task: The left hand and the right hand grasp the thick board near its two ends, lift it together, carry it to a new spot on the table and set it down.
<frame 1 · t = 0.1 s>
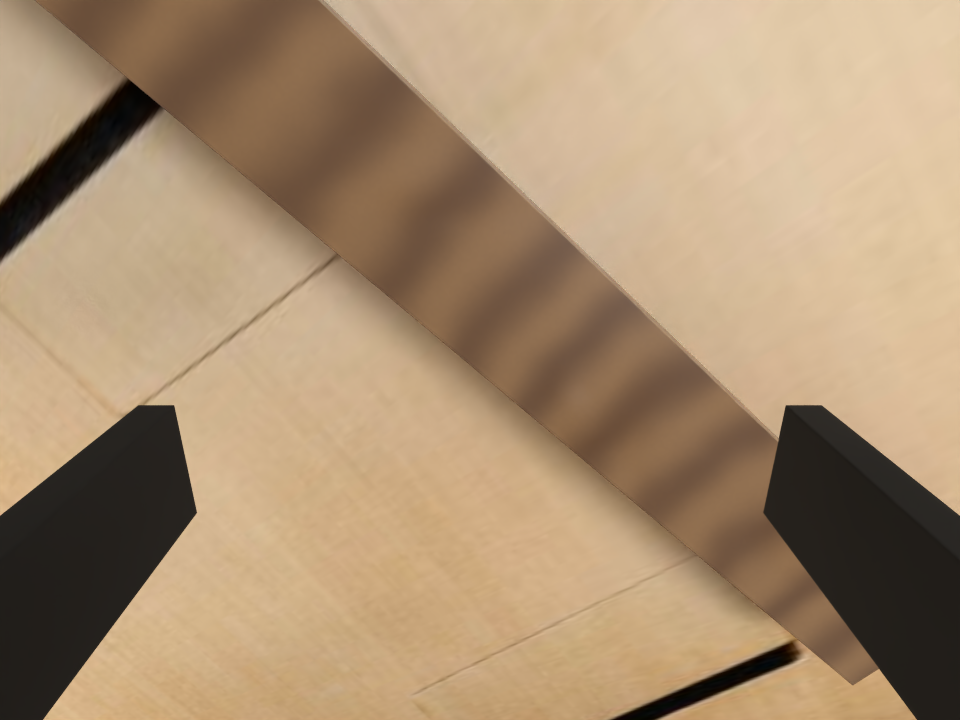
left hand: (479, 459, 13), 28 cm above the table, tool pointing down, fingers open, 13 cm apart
thick board: (499, 264, 39), on the table
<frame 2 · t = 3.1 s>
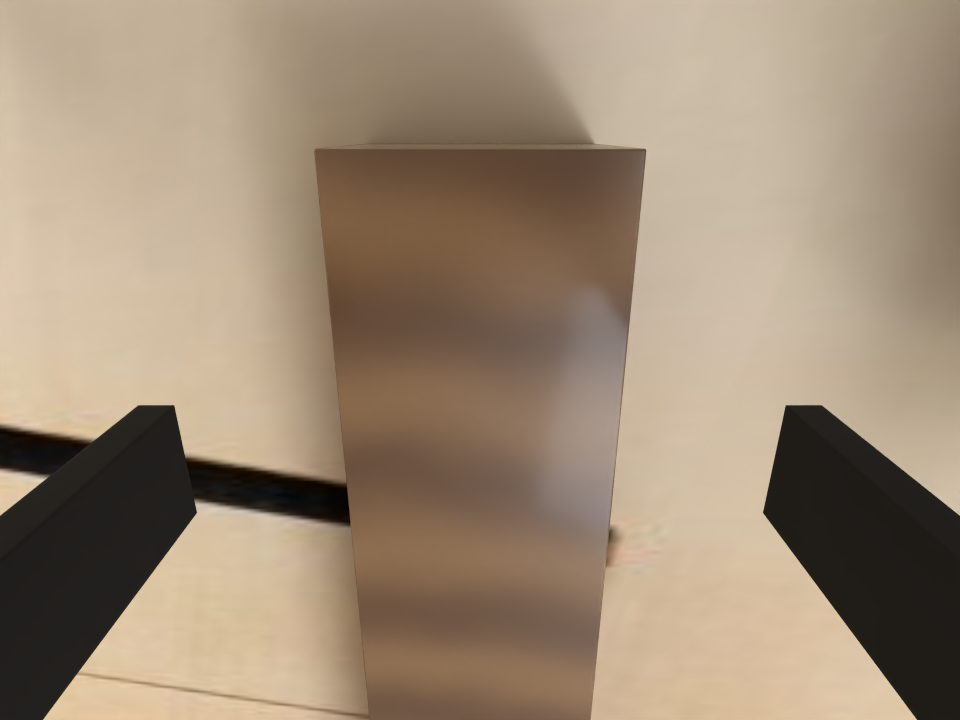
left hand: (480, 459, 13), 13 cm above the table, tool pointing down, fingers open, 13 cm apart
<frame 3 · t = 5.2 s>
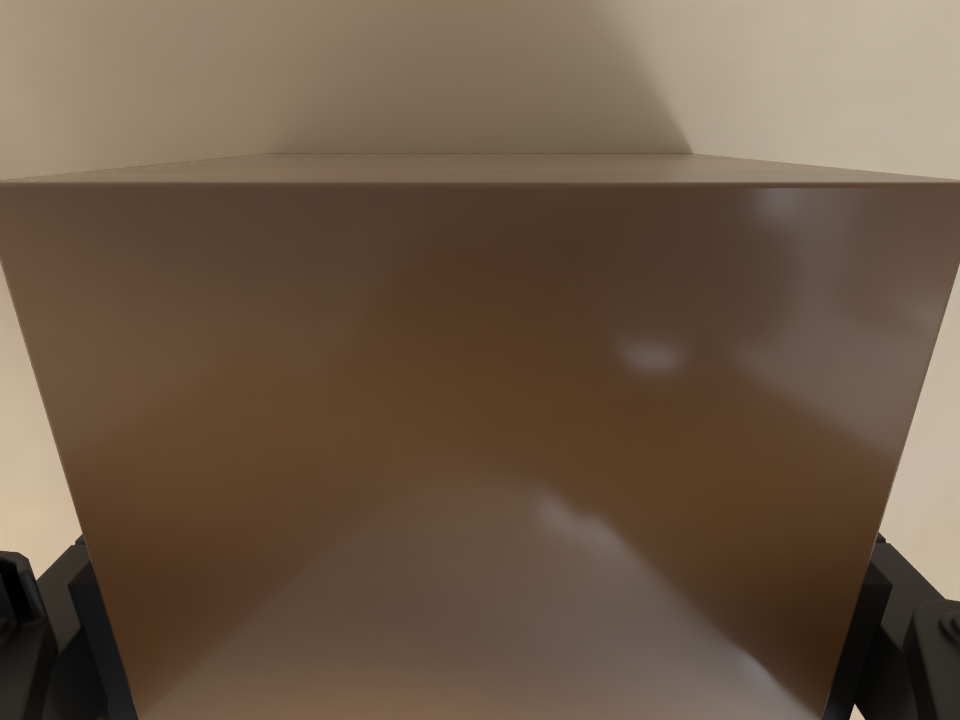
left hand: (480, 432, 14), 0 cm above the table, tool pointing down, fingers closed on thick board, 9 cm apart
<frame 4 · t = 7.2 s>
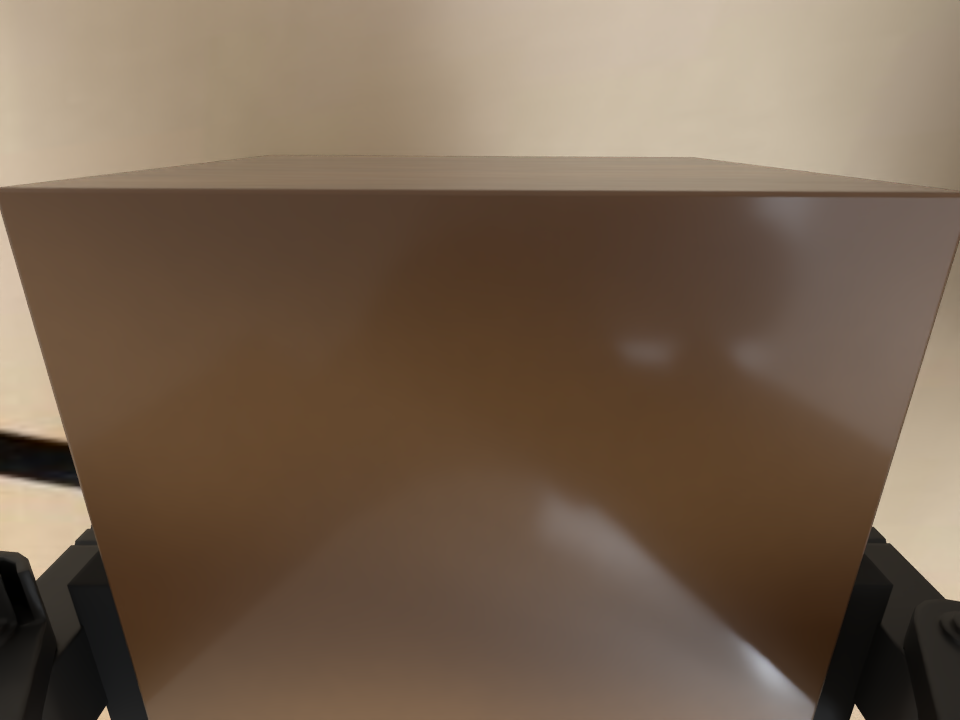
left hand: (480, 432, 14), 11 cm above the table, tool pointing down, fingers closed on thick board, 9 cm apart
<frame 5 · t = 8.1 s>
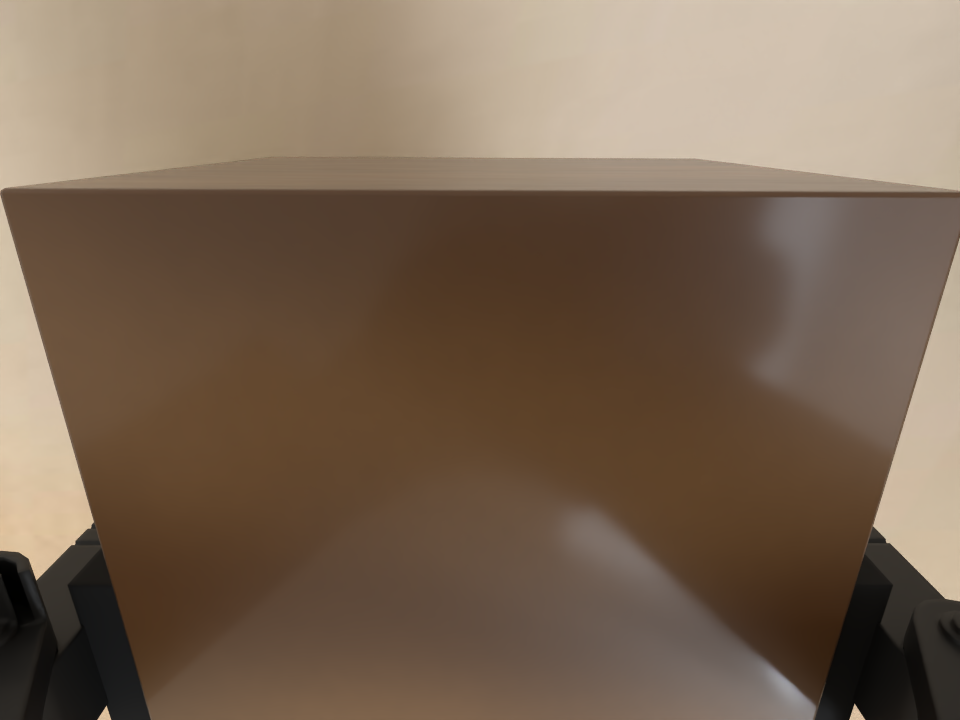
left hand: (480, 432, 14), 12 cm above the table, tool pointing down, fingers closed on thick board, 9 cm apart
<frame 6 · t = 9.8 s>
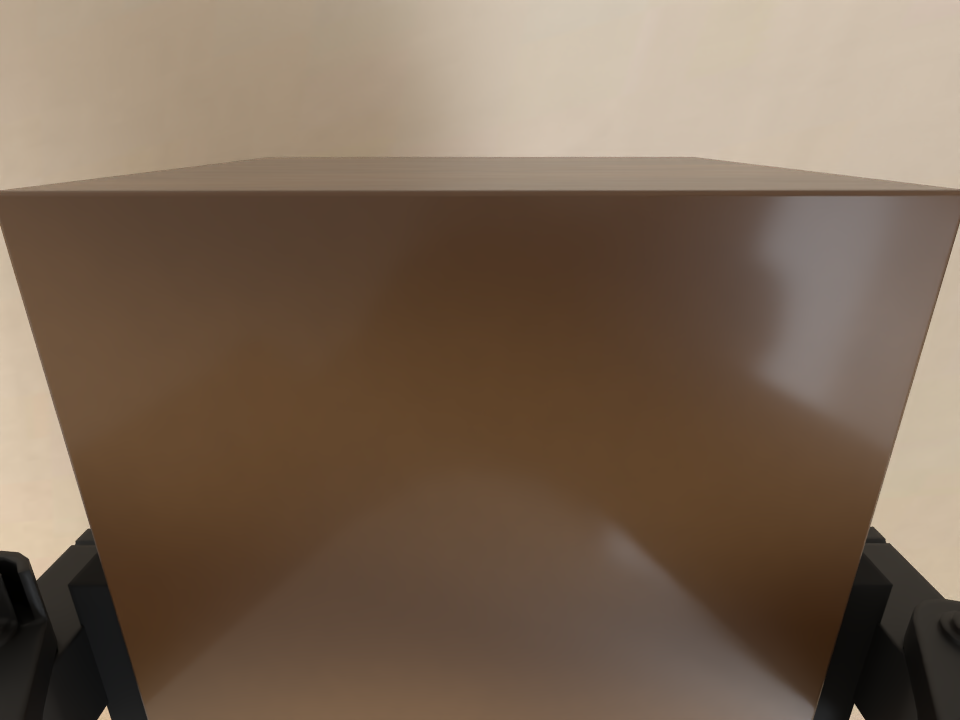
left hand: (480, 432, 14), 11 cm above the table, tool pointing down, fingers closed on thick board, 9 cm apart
when the left hand's fingers open (2 cm above the table, at t = 11.2 s): thick board drops 1 cm, on the table.
when the right hand's fingers open (2 cm above the table, at t = 11.2 s): thick board drops 1 cm, on the table.
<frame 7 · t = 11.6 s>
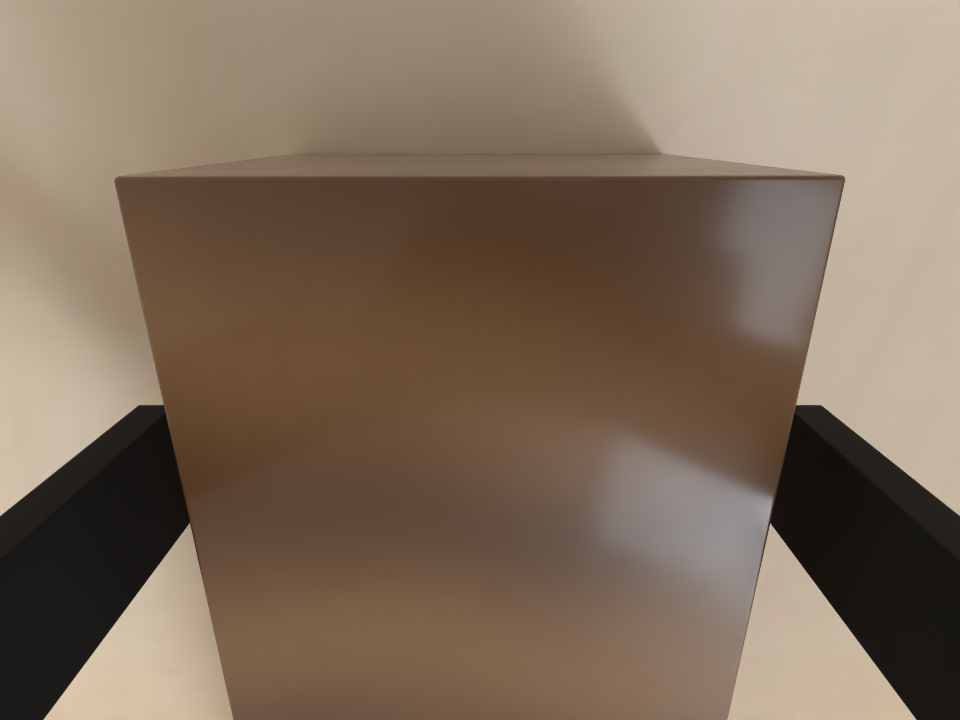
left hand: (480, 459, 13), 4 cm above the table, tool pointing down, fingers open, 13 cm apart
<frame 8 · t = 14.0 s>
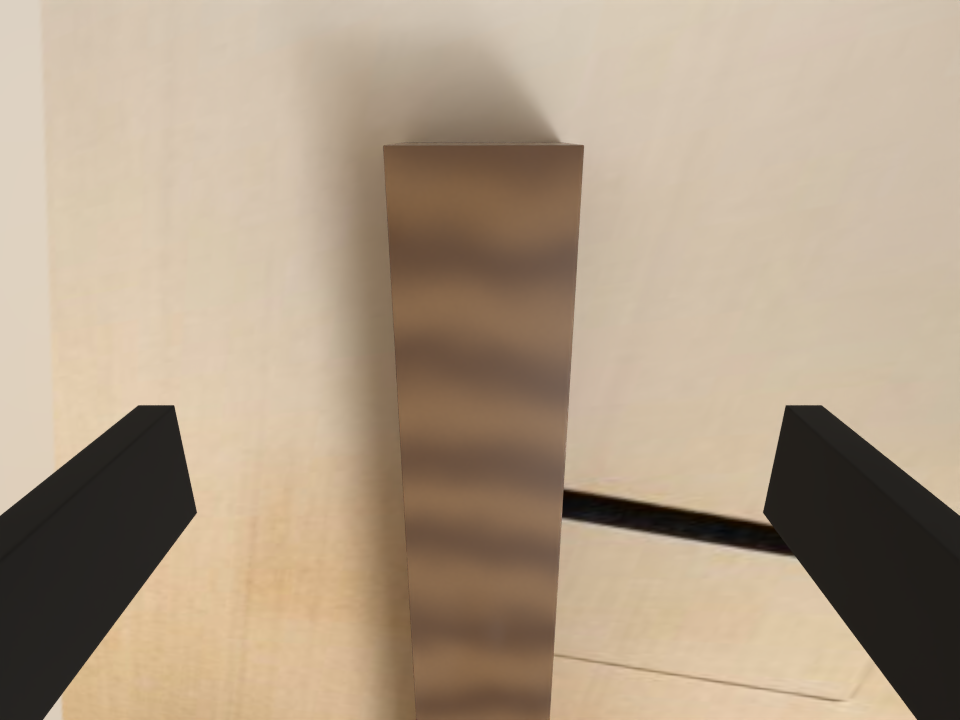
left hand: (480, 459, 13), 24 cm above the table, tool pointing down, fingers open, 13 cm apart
thick board: (482, 665, 47), on the table
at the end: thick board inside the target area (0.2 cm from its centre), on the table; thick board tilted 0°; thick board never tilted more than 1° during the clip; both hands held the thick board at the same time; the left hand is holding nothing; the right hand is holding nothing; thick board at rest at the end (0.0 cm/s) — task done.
